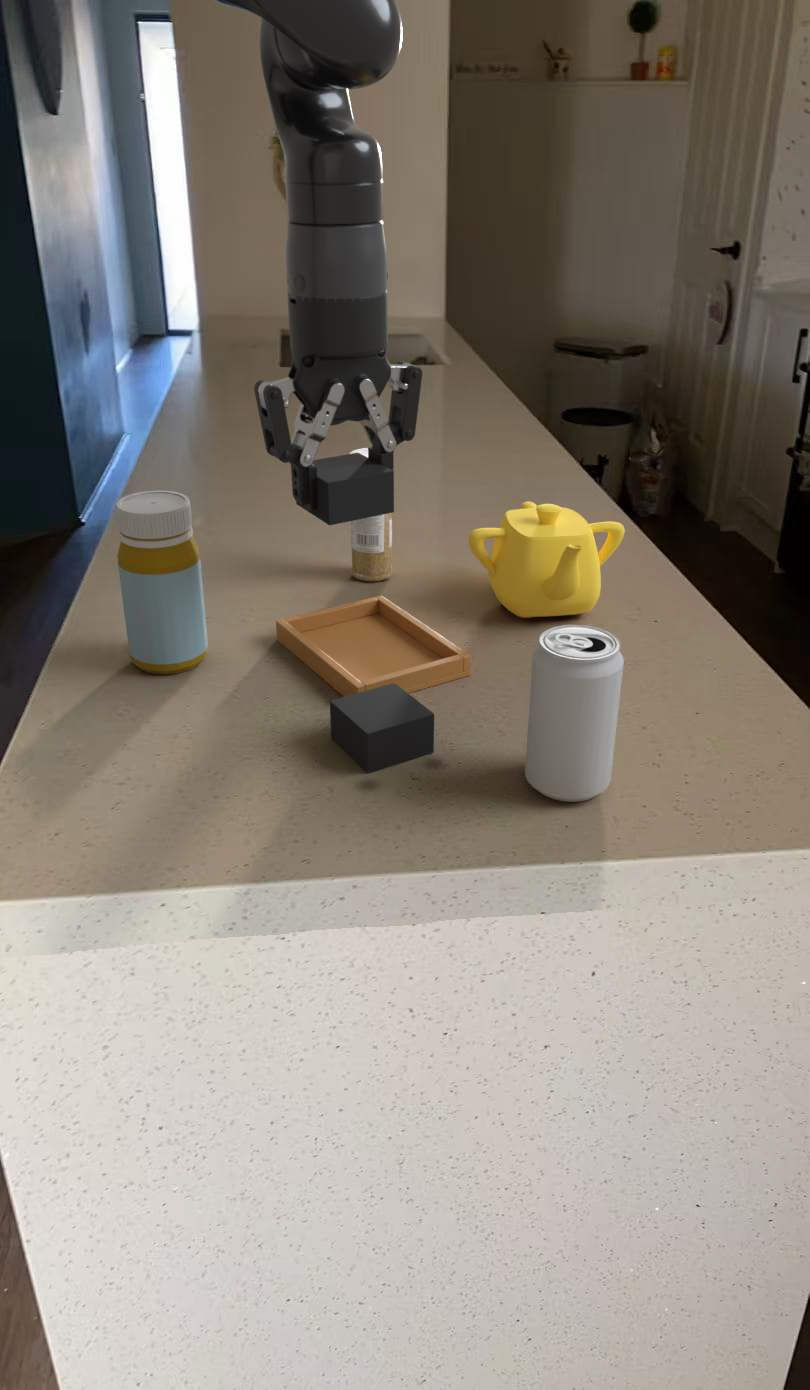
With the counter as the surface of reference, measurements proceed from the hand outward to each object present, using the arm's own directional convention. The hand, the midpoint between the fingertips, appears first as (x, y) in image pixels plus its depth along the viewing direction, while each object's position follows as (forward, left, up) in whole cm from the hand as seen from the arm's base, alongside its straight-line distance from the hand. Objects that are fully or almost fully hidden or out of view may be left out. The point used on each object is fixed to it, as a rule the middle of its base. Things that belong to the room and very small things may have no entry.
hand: (344, 499), depth 90 cm
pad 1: (0, 0, -1) cm, 1 cm away
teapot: (+24, +3, -16) cm, 29 cm away
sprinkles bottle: (+13, +19, -16) cm, 28 cm away
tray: (+3, +2, -16) cm, 17 cm away
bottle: (-13, +11, -16) cm, 23 cm away
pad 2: (-4, -12, -16) cm, 21 cm away
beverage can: (+5, -24, -16) cm, 30 cm away
